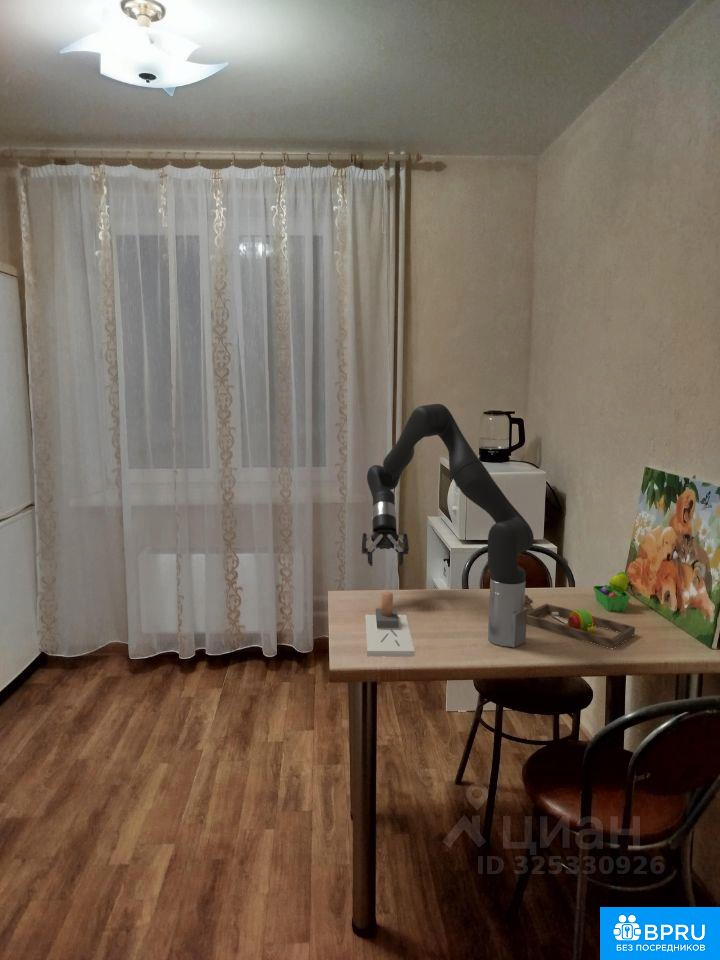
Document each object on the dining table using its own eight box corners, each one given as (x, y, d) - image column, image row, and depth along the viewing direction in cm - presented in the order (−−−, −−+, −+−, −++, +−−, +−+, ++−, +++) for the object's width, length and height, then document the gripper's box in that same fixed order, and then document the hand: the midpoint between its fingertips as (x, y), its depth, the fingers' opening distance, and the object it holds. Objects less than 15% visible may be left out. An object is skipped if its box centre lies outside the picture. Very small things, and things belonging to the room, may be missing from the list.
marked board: (365, 619, 192) (365, 614, 192) (405, 619, 192) (406, 614, 192) (367, 656, 166) (367, 650, 166) (414, 656, 166) (414, 651, 166)
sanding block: (375, 616, 191) (376, 588, 189) (396, 616, 191) (396, 588, 189) (376, 628, 181) (377, 599, 179) (398, 628, 181) (399, 599, 180)
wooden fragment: (537, 617, 195) (538, 614, 195) (500, 615, 197) (500, 612, 197) (527, 591, 221) (528, 588, 221) (494, 589, 222) (495, 586, 222)
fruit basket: (591, 600, 210) (593, 567, 209) (617, 600, 211) (620, 566, 209) (606, 613, 199) (608, 577, 198) (634, 613, 200) (637, 577, 198)
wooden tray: (634, 635, 182) (635, 626, 181) (613, 649, 172) (613, 640, 171) (546, 611, 200) (546, 603, 200) (522, 622, 190) (522, 614, 190)
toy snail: (583, 641, 177) (585, 618, 176) (544, 616, 196) (545, 595, 195) (603, 639, 179) (605, 616, 178) (563, 615, 197) (564, 594, 196)
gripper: (361, 512, 201) (362, 558, 192) (407, 513, 202) (410, 559, 192) (361, 525, 207) (361, 570, 198) (406, 526, 208) (408, 571, 198)
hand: (385, 565), depth 195 cm, fingers open, 8 cm apart
